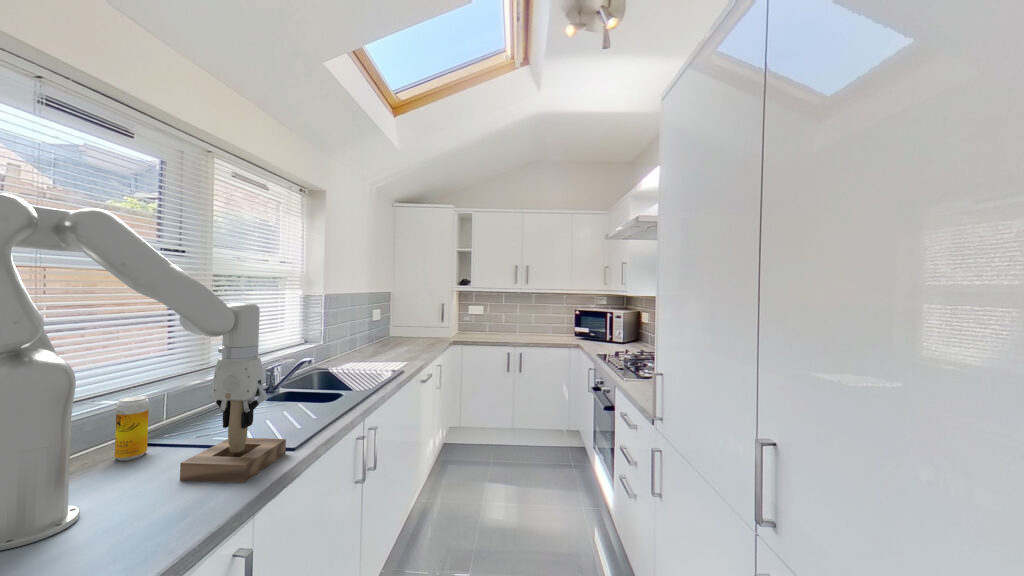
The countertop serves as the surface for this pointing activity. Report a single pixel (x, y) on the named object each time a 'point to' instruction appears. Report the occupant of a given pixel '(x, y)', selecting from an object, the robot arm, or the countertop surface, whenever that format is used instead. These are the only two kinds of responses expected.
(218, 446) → the keyed socket block
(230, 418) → the tan flared peg
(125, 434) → the beer can
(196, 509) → the countertop surface
